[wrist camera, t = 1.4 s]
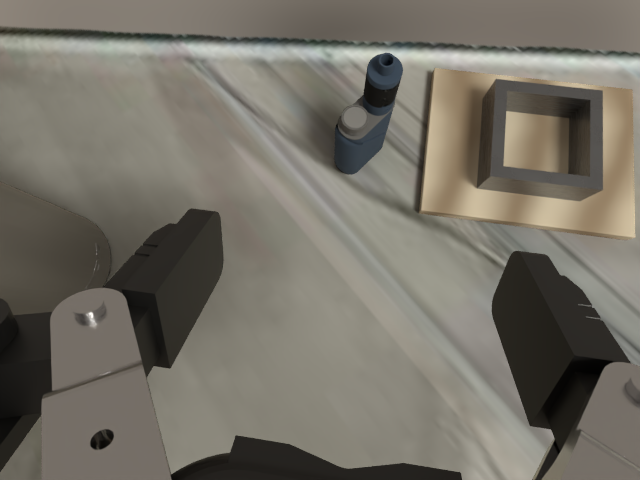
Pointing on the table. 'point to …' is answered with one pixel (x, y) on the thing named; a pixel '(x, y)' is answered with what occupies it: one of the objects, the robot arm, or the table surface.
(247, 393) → the table surface
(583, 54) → the table surface
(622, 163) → the mounting board
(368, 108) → the vaping device
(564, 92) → the square socket
